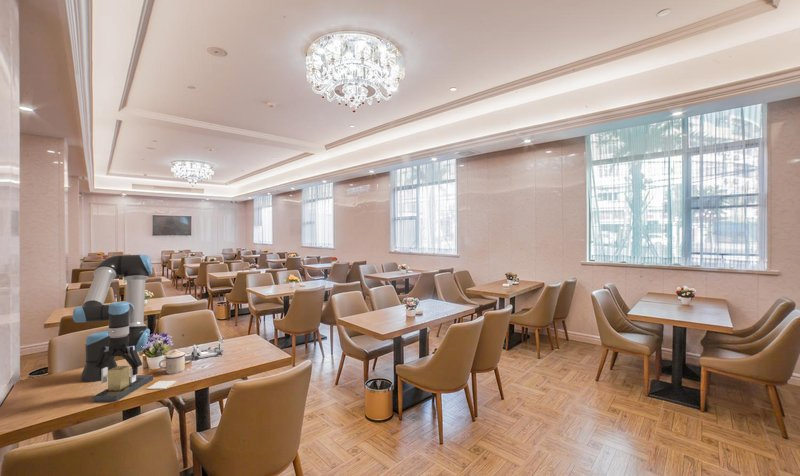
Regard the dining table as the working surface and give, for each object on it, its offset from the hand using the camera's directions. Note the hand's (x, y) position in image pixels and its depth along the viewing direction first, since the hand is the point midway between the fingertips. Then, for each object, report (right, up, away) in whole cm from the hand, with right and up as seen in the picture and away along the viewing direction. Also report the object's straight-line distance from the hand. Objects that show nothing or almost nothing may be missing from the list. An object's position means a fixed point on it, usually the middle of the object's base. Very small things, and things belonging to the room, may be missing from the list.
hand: (118, 382), depth 164 cm
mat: (+14, -5, +9) cm, 18 cm away
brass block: (0, -6, 0) cm, 6 cm away
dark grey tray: (0, -5, +4) cm, 7 cm away
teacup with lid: (+7, -6, +27) cm, 29 cm away
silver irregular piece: (+12, -6, +55) cm, 56 cm away
